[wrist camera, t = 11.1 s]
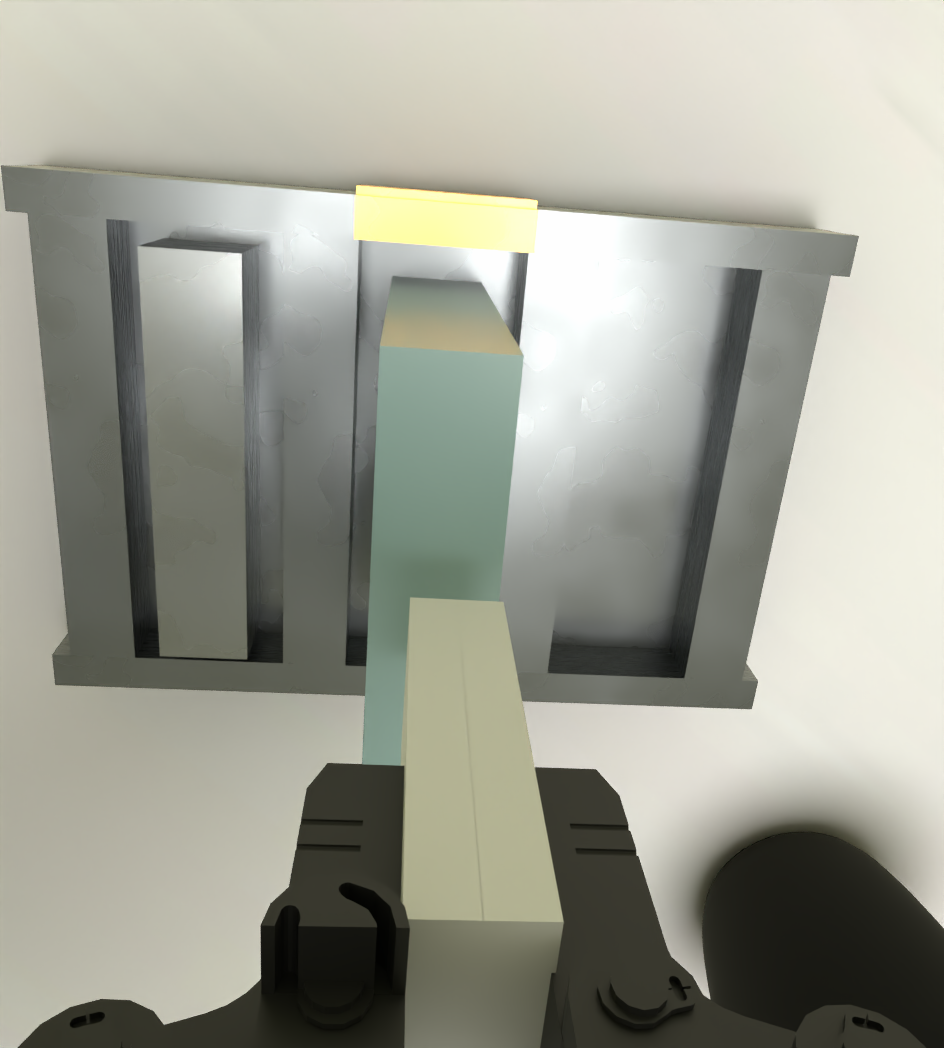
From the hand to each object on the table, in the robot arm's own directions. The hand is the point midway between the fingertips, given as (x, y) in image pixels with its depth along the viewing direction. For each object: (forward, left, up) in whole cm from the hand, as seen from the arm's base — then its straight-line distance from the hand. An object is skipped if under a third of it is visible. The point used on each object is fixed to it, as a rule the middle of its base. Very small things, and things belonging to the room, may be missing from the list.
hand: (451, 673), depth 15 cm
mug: (+16, -18, -13) cm, 28 cm away
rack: (0, 0, -13) cm, 13 cm away
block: (0, 0, -12) cm, 12 cm away
